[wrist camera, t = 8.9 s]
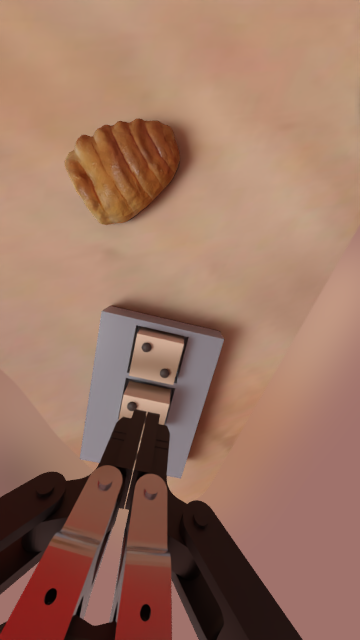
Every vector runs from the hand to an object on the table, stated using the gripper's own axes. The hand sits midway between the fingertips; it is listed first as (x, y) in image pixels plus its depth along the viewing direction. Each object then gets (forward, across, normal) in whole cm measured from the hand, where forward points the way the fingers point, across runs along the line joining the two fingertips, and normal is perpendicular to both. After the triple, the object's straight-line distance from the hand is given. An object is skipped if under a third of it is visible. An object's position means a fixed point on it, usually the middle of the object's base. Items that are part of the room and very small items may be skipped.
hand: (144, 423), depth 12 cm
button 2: (+11, 0, 0) cm, 11 cm away
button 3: (+10, 0, +6) cm, 11 cm away
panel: (+12, 0, +6) cm, 13 cm away
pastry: (+12, +7, -15) cm, 21 cm away
